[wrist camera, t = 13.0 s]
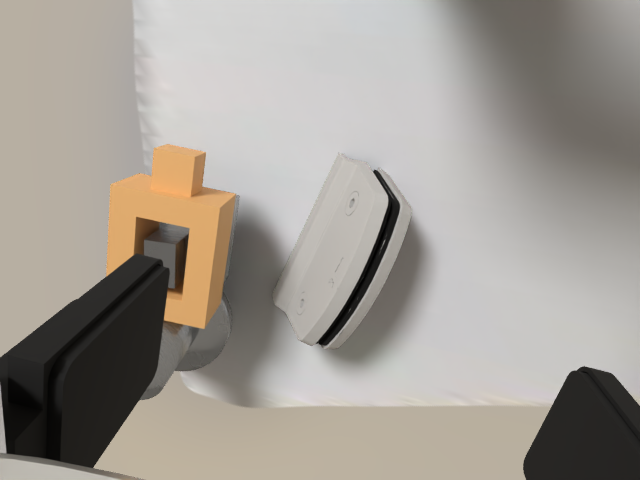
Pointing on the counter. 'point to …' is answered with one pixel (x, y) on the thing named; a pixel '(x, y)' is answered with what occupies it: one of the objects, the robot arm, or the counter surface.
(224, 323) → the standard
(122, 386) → the robot arm
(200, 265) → the bracket
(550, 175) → the counter surface
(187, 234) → the grey rectangular bar
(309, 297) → the white curved casing
